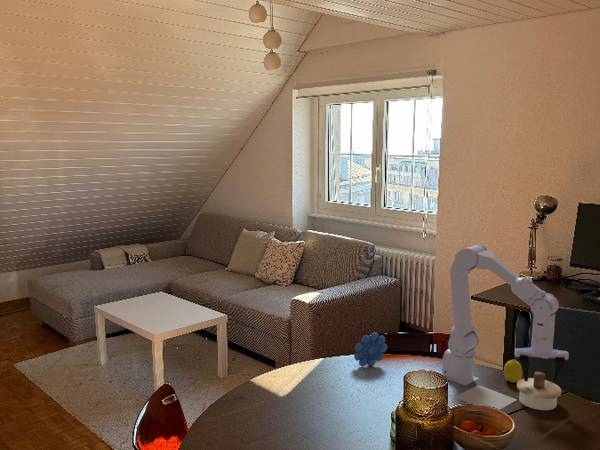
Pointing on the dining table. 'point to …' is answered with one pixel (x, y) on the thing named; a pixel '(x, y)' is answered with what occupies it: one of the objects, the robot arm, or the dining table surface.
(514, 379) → the lemon
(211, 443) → the dining table surface
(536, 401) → the bowl
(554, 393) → the lid
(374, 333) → the grapes
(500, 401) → the mat
